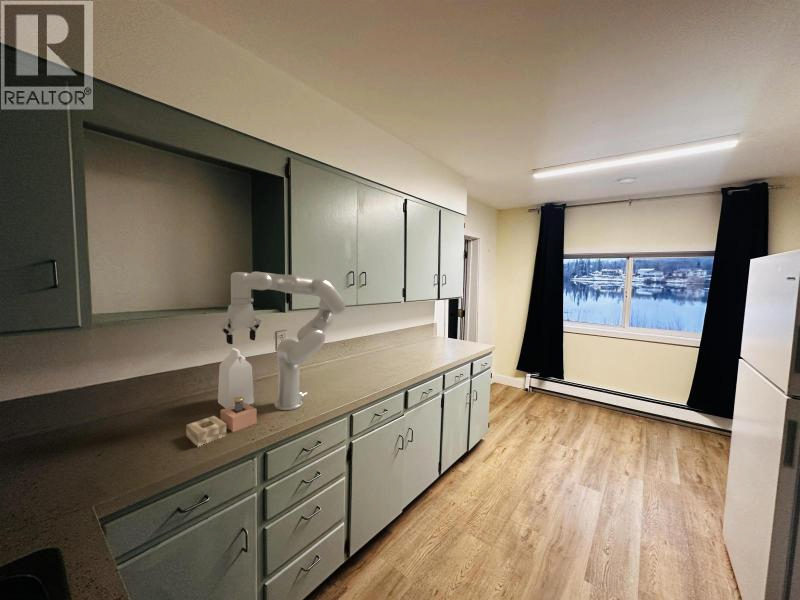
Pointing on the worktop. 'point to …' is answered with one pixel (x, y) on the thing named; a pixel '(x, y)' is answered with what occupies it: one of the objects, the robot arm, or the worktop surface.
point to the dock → (239, 417)
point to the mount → (206, 430)
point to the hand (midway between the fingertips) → (241, 341)
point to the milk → (235, 380)
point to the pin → (238, 404)
